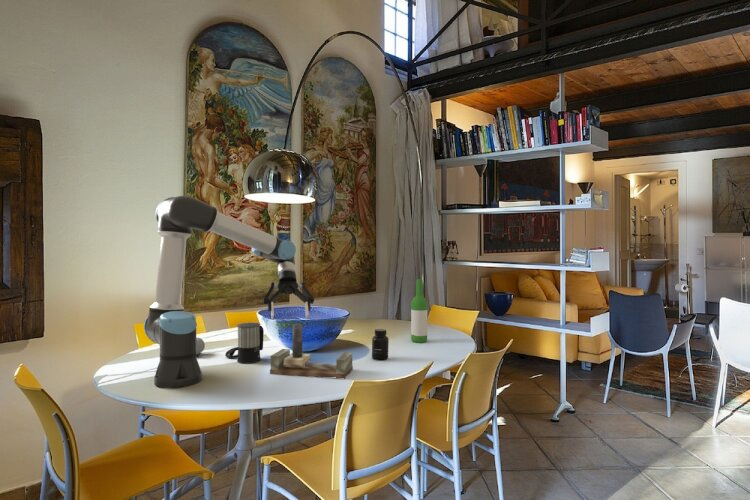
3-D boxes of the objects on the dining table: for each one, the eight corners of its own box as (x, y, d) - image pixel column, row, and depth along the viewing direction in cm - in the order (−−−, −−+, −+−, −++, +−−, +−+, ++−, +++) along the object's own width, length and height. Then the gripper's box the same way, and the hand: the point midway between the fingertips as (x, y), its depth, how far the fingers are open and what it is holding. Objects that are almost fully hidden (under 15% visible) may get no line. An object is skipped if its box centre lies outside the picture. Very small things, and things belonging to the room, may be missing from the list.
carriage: (310, 363, 178) (310, 322, 177) (301, 369, 169) (301, 327, 168) (293, 362, 179) (293, 322, 179) (283, 368, 170) (283, 326, 170)
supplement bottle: (374, 361, 188) (374, 331, 187) (370, 357, 194) (370, 328, 194) (390, 360, 190) (390, 330, 189) (385, 356, 196) (385, 327, 196)
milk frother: (257, 364, 183) (257, 326, 183) (217, 363, 183) (217, 326, 183) (266, 355, 197) (265, 320, 197) (228, 354, 198) (228, 320, 197)
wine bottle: (419, 338, 230) (419, 278, 229) (430, 341, 224) (430, 279, 223) (407, 341, 225) (408, 279, 225) (419, 343, 219) (419, 280, 219)
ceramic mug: (206, 353, 200) (205, 335, 200) (196, 358, 192) (196, 339, 192) (182, 353, 201) (182, 335, 201) (172, 357, 193) (172, 339, 193)
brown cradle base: (352, 369, 176) (352, 352, 176) (344, 378, 164) (344, 360, 164) (283, 365, 182) (283, 348, 181) (270, 373, 170) (269, 356, 170)
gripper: (314, 280, 204) (320, 321, 190) (256, 280, 196) (257, 323, 183) (317, 269, 198) (323, 311, 185) (257, 268, 191) (258, 312, 177)
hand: (290, 317), depth 184 cm, fingers open, 13 cm apart
